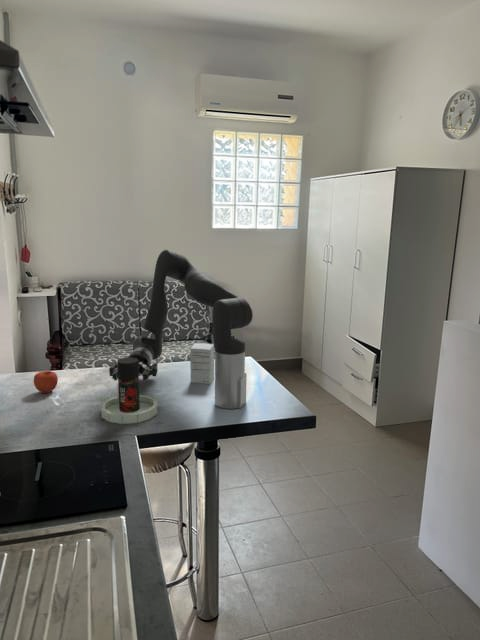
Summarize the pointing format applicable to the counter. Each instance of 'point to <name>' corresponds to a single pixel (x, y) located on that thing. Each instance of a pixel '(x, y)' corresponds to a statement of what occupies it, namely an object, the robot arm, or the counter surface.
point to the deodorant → (128, 385)
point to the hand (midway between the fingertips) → (129, 377)
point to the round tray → (116, 416)
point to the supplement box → (202, 363)
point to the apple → (45, 381)
